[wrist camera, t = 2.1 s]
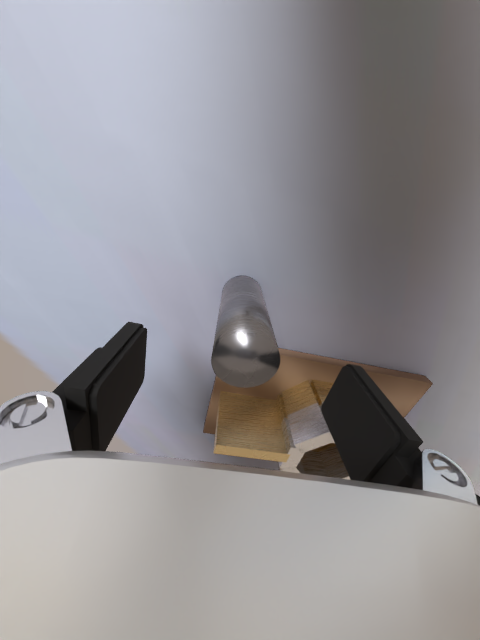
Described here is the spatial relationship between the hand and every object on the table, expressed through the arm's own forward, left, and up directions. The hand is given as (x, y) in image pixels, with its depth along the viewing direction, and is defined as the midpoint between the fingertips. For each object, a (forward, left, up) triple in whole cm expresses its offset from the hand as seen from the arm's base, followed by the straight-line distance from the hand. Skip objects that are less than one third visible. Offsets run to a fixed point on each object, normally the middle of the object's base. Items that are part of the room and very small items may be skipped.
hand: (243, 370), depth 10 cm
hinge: (+9, +9, -6) cm, 14 cm away
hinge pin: (-1, 0, -8) cm, 8 cm away
